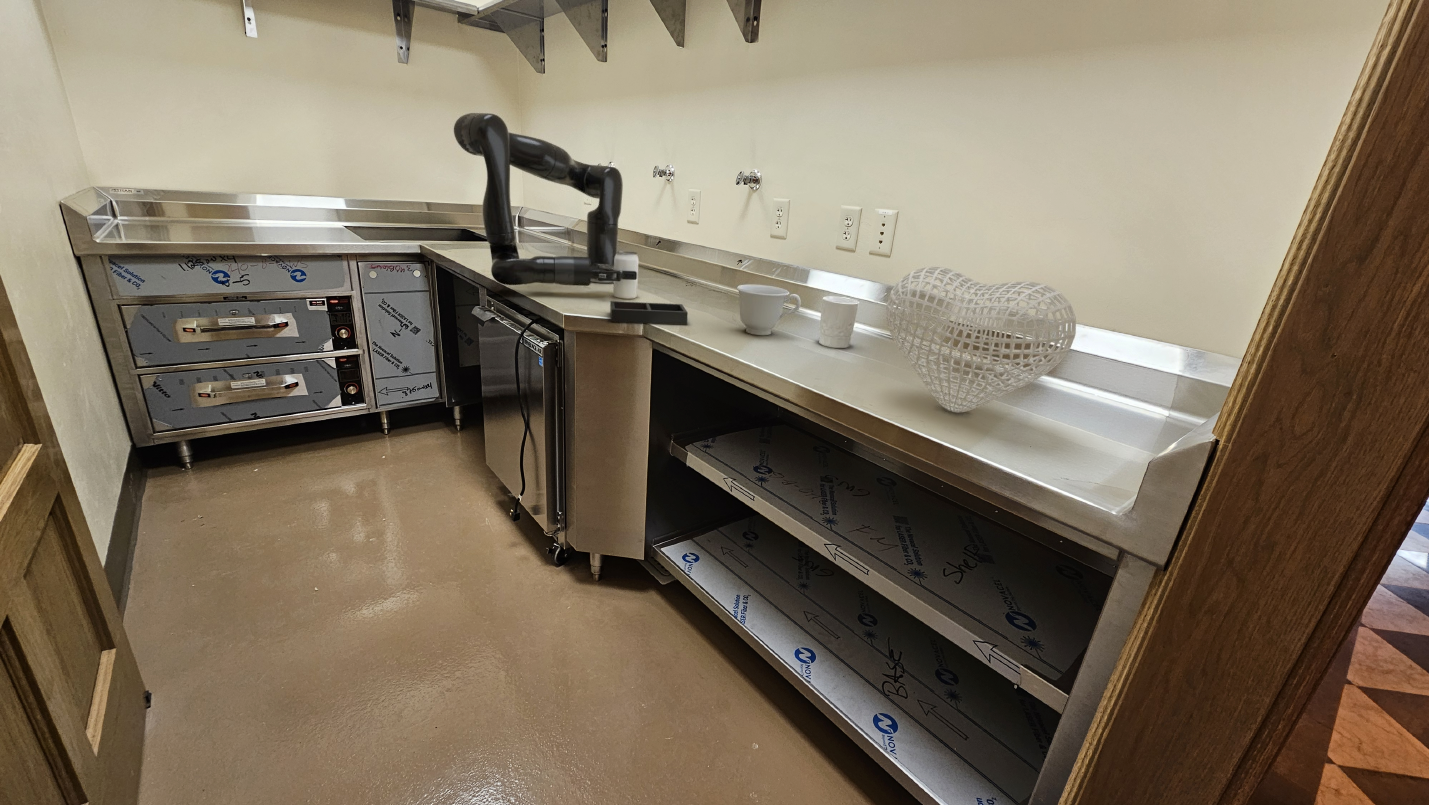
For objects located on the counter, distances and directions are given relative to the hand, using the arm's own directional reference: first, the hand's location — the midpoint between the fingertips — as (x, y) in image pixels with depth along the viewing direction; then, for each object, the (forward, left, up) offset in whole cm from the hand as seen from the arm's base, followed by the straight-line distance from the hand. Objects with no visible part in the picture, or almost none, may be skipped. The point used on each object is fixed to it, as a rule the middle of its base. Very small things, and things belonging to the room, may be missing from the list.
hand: (634, 273), depth 165 cm
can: (0, -2, -7) cm, 7 cm away
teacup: (+36, +28, -7) cm, 46 cm away
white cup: (+44, +42, -7) cm, 61 cm away
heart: (+85, +47, -7) cm, 97 cm away
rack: (+26, +2, -7) cm, 27 cm away
